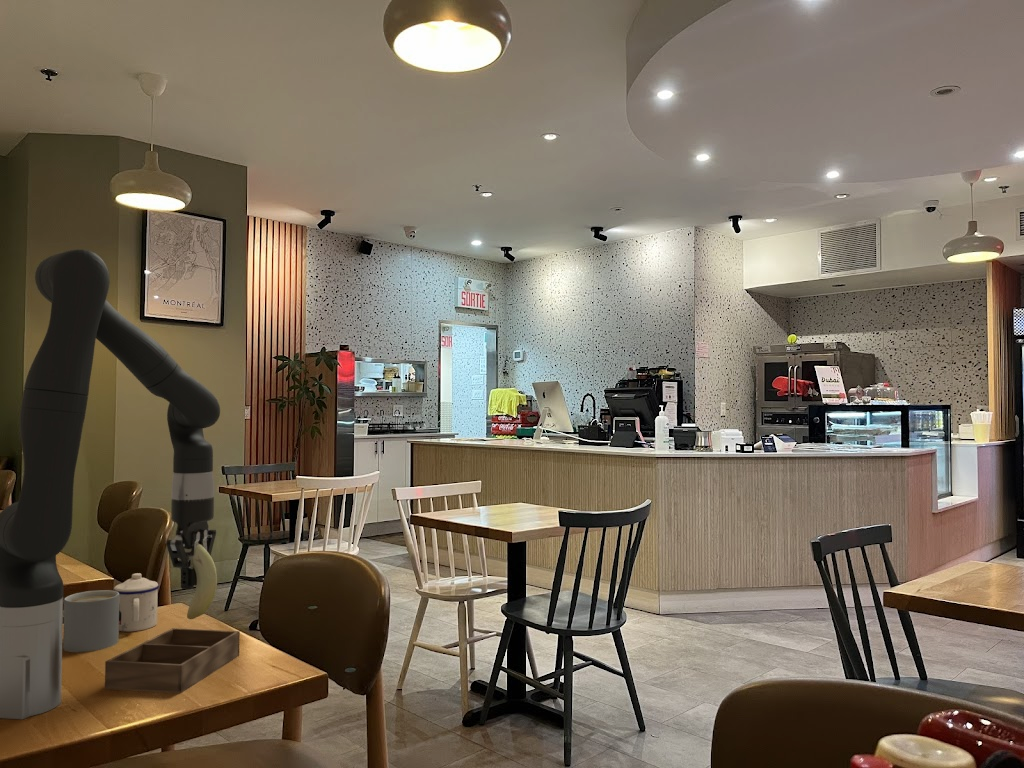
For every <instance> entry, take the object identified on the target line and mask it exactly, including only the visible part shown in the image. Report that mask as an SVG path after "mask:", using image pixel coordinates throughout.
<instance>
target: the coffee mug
mask: <svg viewBox="0 0 1024 768" xmlns="http://www.w3.org/2000/svg"><path fill="white" fill-rule="evenodd" d="M119 632H120V631H119V592H117V591H113V590H112V589H111V590H110V589H108V590H107V589H105V590H88V591H81V592H76V593H73V594H70V595H67V596H66V597H64V598H63V631H62V650H63V651H65V652H69V653H86V652H87V653H88V652H89V653H90V652H94V651H95V652H96V651H100V650H105V649H108V648H111V647H113V646H116V645H117V644H118V643H119V635H120V634H119Z"/></svg>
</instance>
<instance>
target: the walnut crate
mask: <svg viewBox="0 0 1024 768" xmlns="http://www.w3.org/2000/svg"><path fill="white" fill-rule="evenodd" d="M240 634H241V633H240V631H238V630H236V631H235V630H215V629H199V628H198V629H196V628H195V629H194V628H170V629H168V630H166V631H164V632H162V633H160V634H158V635H156V636H154V637H152V638H150V639H148V640H146V641H144V642H142V643H139V644H138V645H136V646H134V647H132V648H130V649H128V650H126V651H124V652H122V653H119V654H118V655H116V656H113V657H112V658H110V659H107V660H106V661H105V662H104V663H105V665H104V669H105V670H104V690H115V691H116V690H117V691H134V692H136V691H137V692H152V693H153V692H155V693H173V694H182V693H184V692H185V691H187V690H188V689H190V688H191V687H193V686H194V685H196V684H198V683H200V682H201V681H203V680H204V679H206V678H207V677H209V676H210V675H212V674H213V673H215V672H217V671H218V670H220V669H221V668H223V667H224V666H225V665H227V664H229V663H230V662H232V661H234V660H235V659H237V658H238V657H239V656H240ZM233 659H234V660H233Z"/></svg>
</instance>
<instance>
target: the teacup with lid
mask: <svg viewBox="0 0 1024 768" xmlns="http://www.w3.org/2000/svg"><path fill="white" fill-rule="evenodd" d="M159 587H160V586H159V584H158V582H157V581H155V580H150V579H148V578H146V577H142V573H140V572H139V573H138V572H137V573H132V574H131V578H129V579H126V580H125V581H124V582H121V583H119V584H116V585H115V586H114V588H113V590H112V591H117V592H119V632H123V633H125V632H127V633H128V632H130V633H131V632H138V631H145V630H149V629H151V628H153V627H154V626H156V625H157V623H158V591H159Z"/></svg>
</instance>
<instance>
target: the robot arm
mask: <svg viewBox="0 0 1024 768" xmlns="http://www.w3.org/2000/svg"><path fill="white" fill-rule="evenodd" d="M34 273H35V275H34V279H35V281H34V282H35V285H36V287H37V290H38V292H40V294H41V295H42V296H43V297H44V298H45V299H46V300H47V301H49V302H50V303H51V307H50V314H49V315H50V316H49V321H48V325H47V331H46V333H45V335H44V338H43V341H42V342H41V345H40V347H39V348H38V350H37V353H36V355H35V356H34V359H33V361H32V363H31V365H30V368H29V370H28V373H27V376H26V379H25V383H24V387H23V391H22V392H23V393H22V398H21V405H20V412H19V413H20V414H19V433H20V443H21V449H22V457H23V477H22V478H23V479H22V483H21V489H20V493H19V498H18V500H17V501H15V502H13V503H11V504H9V505H8V506H6V507H5V508H3V509H2V511H1V512H0V719H9V720H12V719H13V720H25V719H26V718H29V717H33V716H36V715H40V714H43V713H46V712H49V711H51V710H53V709H55V708H56V707H59V706H60V704H61V703H62V676H63V675H62V671H63V670H62V669H63V667H62V666H63V665H62V662H63V661H62V660H63V629H64V581H63V579H62V577H61V575H60V572H59V569H58V566H57V555H58V554H60V552H62V550H63V549H64V548H65V547H66V545H67V544H68V542H69V539H70V537H71V534H72V530H73V529H72V527H73V505H74V503H73V502H74V484H75V483H74V482H75V474H76V473H75V472H76V467H77V462H78V456H79V451H80V447H81V446H80V445H81V439H82V435H83V434H82V433H83V428H84V423H85V417H86V414H87V413H86V412H87V407H88V406H87V405H88V399H89V394H90V392H89V391H90V382H91V375H92V369H93V363H94V362H93V361H94V356H95V347H96V340H98V341H99V342H100V343H101V344H102V345H103V346H104V347H105V348H106V349H107V350H108V351H109V352H111V353H112V354H113V356H115V358H117V360H119V361H120V362H121V364H122V365H123V366H124V367H125V368H126V369H127V370H128V371H129V372H130V373H131V374H132V375H133V376H134V377H135V378H136V379H137V380H138V382H139V383H141V384H142V385H143V387H144V388H145V389H146V390H148V392H150V393H151V394H152V395H154V396H155V397H159V398H162V399H164V400H165V401H167V402H168V403H169V404H168V406H167V413H166V419H167V428H168V430H169V432H168V433H169V437H170V440H171V445H172V448H173V461H172V464H173V468H172V471H173V472H172V473H173V474H172V478H171V479H172V481H171V500H170V502H171V503H170V505H171V507H170V509H171V513H170V516H171V517H170V518H171V521H172V522H173V523H176V524H177V527H176V531H175V537H174V538H173V539H167V541H166V548H168V549H167V551H168V554H169V557H170V561H171V563H172V567H173V568H177V569H179V570H180V588H181V589H182V590H191V589H193V588H194V587H195V586H196V585H197V576H196V571H195V569H194V563H193V556H195V553H196V548H197V545H198V543H199V544H200V545H202V546H203V547H204V548H205V549H206V550H207V552H208V553H209V554H210V556H211V555H212V551H213V547H214V543H215V538H216V537H217V536H216V535H217V530H216V529H210V528H209V523H208V522H209V521H210V522H211V520H213V519H214V517H215V516H214V515H215V513H214V512H215V482H214V481H215V479H214V473H213V472H214V471H213V470H214V451H213V450H214V449H213V446H212V444H211V443H210V442H208V441H206V440H205V436H204V431H203V429H207V428H209V427H212V426H214V425H215V424H216V423H217V422H218V421H219V418H220V415H221V406H220V403H219V401H218V399H217V397H216V396H215V395H214V394H213V393H212V391H211V390H209V389H208V388H207V387H206V386H205V385H204V384H202V383H201V382H199V381H198V380H197V379H196V378H195V377H193V376H192V375H190V374H189V373H187V372H186V371H185V370H184V369H182V368H181V366H180V365H179V363H178V362H177V361H176V360H175V359H174V358H173V357H172V356H171V354H170V353H169V352H168V351H167V350H165V348H164V347H163V346H162V345H161V344H160V343H159V342H157V340H155V339H154V338H153V337H152V336H151V335H149V334H148V333H146V332H145V331H144V330H142V329H141V328H140V327H138V326H137V325H136V324H134V323H133V322H131V321H129V319H128V318H126V317H124V315H122V314H121V312H119V311H117V309H116V308H114V307H113V306H112V305H111V303H110V302H109V301H108V300H107V298H108V293H109V289H110V285H111V284H110V282H111V281H110V278H111V277H110V273H109V269H108V267H107V264H106V263H105V261H104V260H103V259H102V258H101V256H99V254H97V253H95V252H94V251H91V250H89V249H88V250H87V249H82V248H81V249H79V248H78V249H72V250H65V251H63V252H60V253H56V254H54V255H50V256H48V257H47V258H45V259H43V260H42V261H40V263H39V264H38V266H37V267H36V270H35V272H34ZM184 548H185V549H191V548H192V551H191V552H185V549H184ZM187 556H188V557H189V561H188V559H187ZM211 557H212V556H211Z"/></svg>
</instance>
